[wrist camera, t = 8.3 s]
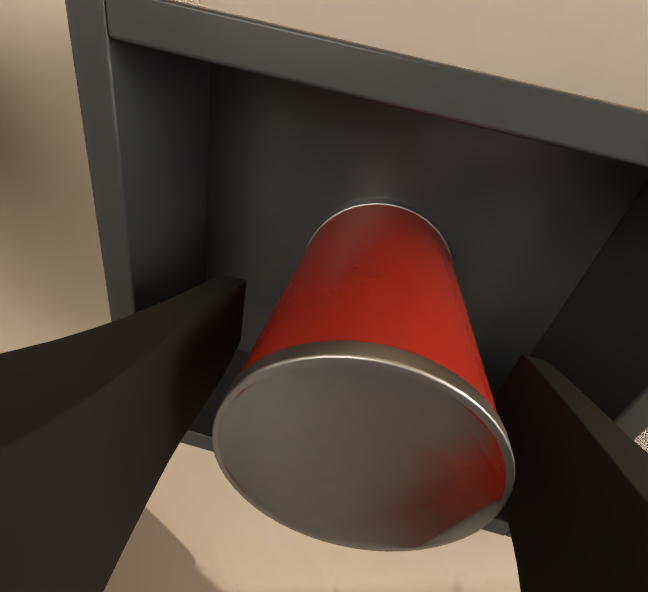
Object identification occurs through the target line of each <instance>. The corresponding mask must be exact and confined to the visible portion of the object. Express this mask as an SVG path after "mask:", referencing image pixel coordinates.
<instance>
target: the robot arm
mask: <svg viewBox="0 0 648 592" xmlns="http://www.w3.org/2000/svg"><path fill="white" fill-rule="evenodd" d="M246 281H247V280H243V279H240V278H236V277H232V276H228V275H225V274H224V275H221V276H219V277H217V278H214V279H212V280H210V281H208V282H205V283H203V284H201V285H199V286H197V287H195V288H192V289H190V290H188V291H186V292H184V293H181V294H179V295H177V296H175V297H172V298H170V299H168V300H166V301H164V302H161V303H159V304H157V305H154V306H152V307H149V308H146V309H144V310H141V311H139V312H136V313H134V314H131V315H129V316H126V317H124V318H121V319H119V320H116V321H113V322H111V323H108V324H105V325H102V326H99V327H96V328H93V329H90V330H87V331H83V332H80V333H77V334H74V335H70V336H67V337H64V338H60V339H57V340H53V341H50V342H46V343H42V344H38V345H34V346H30V347H26V348H22V349H18V350H13V351H9V352H5V353H1V354H0V592H103V591H104V589H105V587H106V585H107V583H108V581H109V579H110V576H111V574H112V572H113V570H114V568H115V566H116V564H117V562H118V560H119V558H120V556H121V554H122V551H123V549H124V548H125V545H126V543H127V541H128V539H129V537H130V535H131V533H132V531H133V529H134V528H135V526H136V523H137V521H138V520H139V518H140V515H141V514H142V512H143V509H144V508H145V506H146V504H147V502H148V500H149V498H150V496H151V494H152V492H153V490H154V488H155V486H156V485H157V483H158V481H159V479H160V477H161V475H162V473H163V471H164V469H165V467H166V465H167V464H168V462H169V460H170V458H171V456H172V455H173V453H174V451H175V450H176V448H177V446H178V445H179V443H180V442H181V440H182V438H183V437H184V435H185V434H186V432H187V431H188V429H189V428H190V426H191V425H192V423H193V422H194V420H195V419H196V417H197V416H198V414H199V413H200V411H201V409H202V408H203V406H204V405H205V403H206V402H207V400H208V399H209V397H210V396H211V394H212V393H213V391H214V390H215V388H216V386H217V385H218V383H219V382H220V380H221V379H222V377H223V375H224V374H225V372H226V370H227V368H228V366H229V364H230V362H231V360H232V358H233V356H234V354H235V352H236V350H237V348H238V345H239V343H240V341H241V333H242V322H243V312H244V302H245V291H246ZM493 400H494V404H495V407H496V410H497V414H498V416H499V417H500V419H501V421H502V423H503V426H504V428H505V430H506V432H507V435H508V438H509V442H510V445H511V448H512V452H513V456H514V461H515V480H514V485H513V490H512V493H511V495H510V497H509V499H508V501H507V503H506V505H505V506H504V509H505V513H506V517H507V521H508V525H509V529H510V533H511V538H512V542H513V547H514V552H515V557H516V562H517V568H518V575H519V582H520V589H521V592H648V453H647V452H646V451H645V450H643V449H642V448H641V447H640V446H639V445H638V444H637V443H636V442H635V441H634V440H632V439H631V438H630V437H629V436H628V435H627V434H626V433H625V432H624V431H623V430H622V429H621V428H619V427H618V426H617V425H616V424H615V423H614V422H613V421H612V420H611V419H610V418H609V417H608V416H607V415H606V414H605V413H604V412H602V411H601V410H600V409H599V408H598V407H597V406H596V405H595V404H594V403H593V402H592V401H591V400H590V399H589V398H588V397H587V396H586V395H585V394H583V393H582V392H581V391H580V390H579V389H578V388H577V387H576V386H575V385H574V384H573V383H572V382H571V381H570V380H568V379H567V378H566V377H565V376H564V375H563V374H562V373H561V372H560V371H558V370H557V369H556V368H555V367H554V366H552V365H551V364H550V363H548V362H547V361H545V360H541V359H538V358H534V357H530V356H527V355H523V354H522V355H521V356H520V358H519V359H518V361H517V362H516V364H515V366H514V367H513V369H512V370H511V372H510V373H509V375H508V376H507V378H506V379H505V381H504V382H503V384H502V385H501V387H500V388H499V390H498V392H497V393H496V395H495V396H494V398H493Z"/></svg>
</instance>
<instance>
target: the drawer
mask: <svg viewBox="0 0 648 592" xmlns="http://www.w3.org/2000/svg"><path fill="white" fill-rule="evenodd" d="M65 4H66V11H67V18H68V25H69V32H70V38H71V45H72V52H73V59H74V66H75V73H76V80H77V87H78V93H79V100H80V107H81V114H82V121H83V128H84V135H85V142H86V149H87V155H88V162H89V169H90V176H91V183H92V190H93V197H94V204H95V210H96V217H97V224H98V231H99V238H100V245H101V252H102V259H103V265H104V272H105V279H106V286H107V293H108V300H109V307H110V314H111V320H112V322H113V321H116V320H119V319H121V318H124V317H126V316H129V315H131V314H134V313H136V312H139V311H141V310H144V309H146V308H149V307H152V306H154V305H157V304H159V303H161V302H164V301H166V300H168V299H170V298H172V297H175V296H177V295H179V294H181V293H184V292H186V291H188V290H190V289H192V288H195V287H197V286H199V285H201V284H203V283H205V282H208V281H210V280H212V279H214V278H217V277H219V276H221V275H224V274H225V275H228V276H232V277H236V278H240V279H243V280H247V281H246V291H245V302H244V312H243V322H242V333H241V341H240V343H239V345H238V348H237V350H236V352H235V354H234V356H233V358H232V360H231V362H230V364H229V366H228V368H227V370H226V372H225V374H224V375H223V377H222V379H221V380H220V382H219V383H218V385H217V386H216V388H215V390H214V391H213V393H212V394H211V396H210V397H209V399H208V400H207V402H206V403H205V405H204V406H203V408H202V409H201V411H200V413H199V414H198V416H197V417H196V419H195V420H194V422H193V423H192V425H191V426H190V428H189V429H188V431H187V432H186V434H185V435H184V437H183V438H182V440H181V443H185V444H188V445H192V446H195V447H199V448H202V449H206V450H209V451H213V452H214V450H213V445H212V432H211V431H212V424H213V418H214V415H215V412H216V410H217V407H218V405H219V403H220V401H221V399H222V398H223V396H224V394H225V392H226V391H227V389H228V388H229V386H230V384H231V383H232V382H233V380H234V379H235V378H236V377H237V376H238V374H239V372H240V370H241V369H242V367H243V365H244V363H245V361H246V359H247V357H248V356H249V354H250V352H251V350H252V348H253V346H254V345H255V343H256V341H257V339H258V337H259V335H260V333H261V332H262V330H263V328H264V326H265V324H266V322H267V321H268V319H269V317H270V315H271V313H272V311H273V309H274V308H275V306H276V304H277V302H278V300H279V298H280V297H281V295H282V293H283V291H284V289H285V287H286V285H287V284H288V282H289V280H290V278H291V276H292V274H293V273H294V271H295V269H296V267H297V265H298V263H299V261H300V260H301V258H302V256H303V254H304V252H305V249H306V247H307V245H308V242H309V240H310V238H311V237H312V235H313V233H314V232H315V230H316V229H317V227H318V226H319V225H320V224H321V223H322V222H323V221H324V220H325V219H326V218H327V217H328V216H330V215H331V214H332V213H334V212H335V211H337V210H339V209H341V208H343V207H345V206H347V205H350V204H353V203H356V202H360V201H365V200H389V201H395V202H399V203H402V204H405V205H408V206H410V207H412V208H414V209H416V210H418V211H420V212H421V213H423V214H424V215H426V216H427V217H428V218H429V219H430V220H432V221H433V222H434V223H435V224H436V226H437V227H438V228H439V229H440V231H441V232H442V234H443V235H444V237H445V239H446V241H447V243H448V246H449V248H450V252H451V256H452V259H453V267H454V270H455V274H456V277H457V280H458V284H459V287H460V290H461V294H462V297H463V300H464V304H465V307H466V310H467V314H468V317H469V320H470V324H471V327H472V330H473V334H474V337H475V340H476V344H477V347H478V350H479V354H480V357H481V360H482V364H483V367H484V370H485V374H486V377H487V380H488V384H489V387H490V390H491V394H492V397H493V398H494V396H495V395H496V393H497V392H498V390H499V388H500V387H501V385H502V384H503V382H504V381H505V379H506V378H507V376H508V375H509V373H510V372H511V370H512V369H513V367H514V366H515V364H516V362H517V361H518V359H519V358H520V356H521V355H522V354H523V355H527V356H530V357H534V358H538V359H541V360H545V361H547V362H548V363H550V364H551V365H552V366H554V367H555V368H556V369H557V370H558V371H560V372H561V373H562V374H563V375H564V376H565V377H566V378H567V379H568V380H570V381H571V382H572V383H573V384H574V385H575V386H576V387H577V388H578V389H579V390H580V391H581V392H582V393H583V394H585V395H586V396H587V397H588V398H589V399H590V400H591V401H592V402H593V403H594V404H595V405H596V406H597V407H598V408H599V409H600V410H601V411H602V412H604V413H605V414H606V415H607V416H608V417H609V418H610V419H611V420H612V421H613V422H614V423H615V424H616V425H617V426H618V427H619V428H621V429H622V430H623V431H624V432H625V433H626V434H627V435H628V436H629V437H630V438H631V439H632V440H635V439H636V438H637V437H638V436H639V435H640V434H641V433H642V432H643V431H644V430H645V429H647V428H648V111H646V110H641V109H637V108H633V107H628V106H624V105H620V104H616V103H611V102H607V101H603V100H598V99H594V98H590V97H586V96H581V95H577V94H573V93H568V92H564V91H560V90H556V89H551V88H547V87H543V86H538V85H534V84H530V83H526V82H521V81H517V80H513V79H508V78H504V77H500V76H496V75H491V74H487V73H483V72H478V71H474V70H470V69H465V68H461V67H457V66H453V65H448V64H444V63H440V62H435V61H431V60H427V59H423V58H418V57H414V56H410V55H405V54H401V53H397V52H393V51H388V50H384V49H380V48H375V47H371V46H367V45H363V44H358V43H354V42H350V41H345V40H341V39H337V38H333V37H328V36H324V35H320V34H315V33H311V32H307V31H303V30H298V29H294V28H290V27H285V26H281V25H277V24H273V23H268V22H264V21H260V20H255V19H251V18H247V17H242V16H238V15H234V14H230V13H225V12H221V11H217V10H212V9H208V8H204V7H200V6H195V5H191V4H187V3H182V2H178V1H174V0H65ZM481 529H483V530H486V531H490V532H493V533H497V534H500V535H506V536H508V537H511V533H510V529H509V525H508V521H507V517H506V513H505V509H504V508H503V509H502V510H501V512H500V513H499V514H498V515H497V516H496V517H495V518H494V519H493V520H492V521H491V522H490V523H489V524H487V525H486V526H484V527H483V528H481Z"/></svg>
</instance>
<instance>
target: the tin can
mask: <svg viewBox="0 0 648 592" xmlns="http://www.w3.org/2000/svg"><path fill="white" fill-rule="evenodd" d="M211 432H212V445H213V450H214V454H215V457H216V459H217V462H218V464H219V466H220V468H221V470H222V472H223V473H224V475H225V477H226V478H227V479H228V481H229V482H230V483H231V485H232V486H233V487H234V488H235V489H236V490H237V491H238V492H239V493H240V495H241V496H242V497H243V498H244V499H246V500H247V501H248V502H249V503H250V504H252V505H253V506H254V507H255V508H257V509H258V510H259V511H261V512H262V513H264V514H265V515H267V516H268V517H270V518H272V519H273V520H275V521H277V522H278V523H280V524H282V525H284V526H286V527H288V528H290V529H292V530H294V531H297V532H299V533H302V534H304V535H307V536H309V537H312V538H315V539H318V540H321V541H324V542H328V543H332V544H336V545H340V546H345V547H350V548H355V549H363V550H371V551H412V550H422V549H427V548H433V547H438V546H442V545H445V544H449V543H452V542H455V541H458V540H460V539H463V538H465V537H467V536H469V535H471V534H473V533H475V532H477V531H479V530H480V529H481V528H483V527H484V526H486V525H487V524H489V523H490V522H491V521H492V520H493V519H494V518H495V517H496V516H497V515H498V514H499V513H500V512H501V510H502V509H503V508H504V506H505V505H506V503H507V501H508V499H509V497H510V495H511V493H512V490H513V485H514V480H515V461H514V456H513V452H512V448H511V445H510V442H509V438H508V435H507V432H506V430H505V428H504V426H503V423H502V421H501V419H500V417H499V416H498V414H497V410H496V407H495V404H494V400H493V397H492V394H491V390H490V387H489V384H488V380H487V377H486V374H485V370H484V367H483V364H482V360H481V357H480V354H479V350H478V347H477V344H476V340H475V337H474V334H473V330H472V327H471V324H470V320H469V317H468V314H467V310H466V307H465V304H464V300H463V297H462V294H461V290H460V287H459V284H458V280H457V277H456V274H455V270H454V267H453V259H452V256H451V252H450V248H449V246H448V243H447V241H446V239H445V237H444V235H443V234H442V232H441V231H440V229H439V228H438V227H437V226H436V224H435V223H434V222H433V221H432V220H430V219H429V218H428V217H427V216H426V215H424V214H423V213H421V212H420V211H418V210H416V209H414V208H412V207H410V206H408V205H405V204H402V203H399V202H395V201H389V200H365V201H360V202H356V203H353V204H350V205H347V206H345V207H343V208H341V209H339V210H337V211H335V212H334V213H332V214H331V215H330V216H328V217H327V218H326V219H325V220H324V221H323V222H322V223H321V224H320V225H319V226H318V227H317V229H316V230H315V232H314V233H313V235H312V237H311V238H310V240H309V242H308V245H307V247H306V249H305V252H304V254H303V256H302V258H301V260H300V261H299V263H298V265H297V267H296V269H295V271H294V273H293V274H292V276H291V278H290V280H289V282H288V284H287V285H286V287H285V289H284V291H283V293H282V295H281V297H280V298H279V300H278V302H277V304H276V306H275V308H274V309H273V311H272V313H271V315H270V317H269V319H268V321H267V322H266V324H265V326H264V328H263V330H262V332H261V333H260V335H259V337H258V339H257V341H256V343H255V345H254V346H253V348H252V350H251V352H250V354H249V356H248V357H247V359H246V361H245V363H244V365H243V367H242V369H241V370H240V372H239V374H238V376H237V377H236V378H235V379H234V380H233V382H232V383H231V384H230V386H229V388H228V389H227V391H226V392H225V394H224V396H223V398H222V399H221V401H220V403H219V405H218V407H217V410H216V412H215V415H214V418H213V424H212V431H211Z"/></svg>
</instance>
